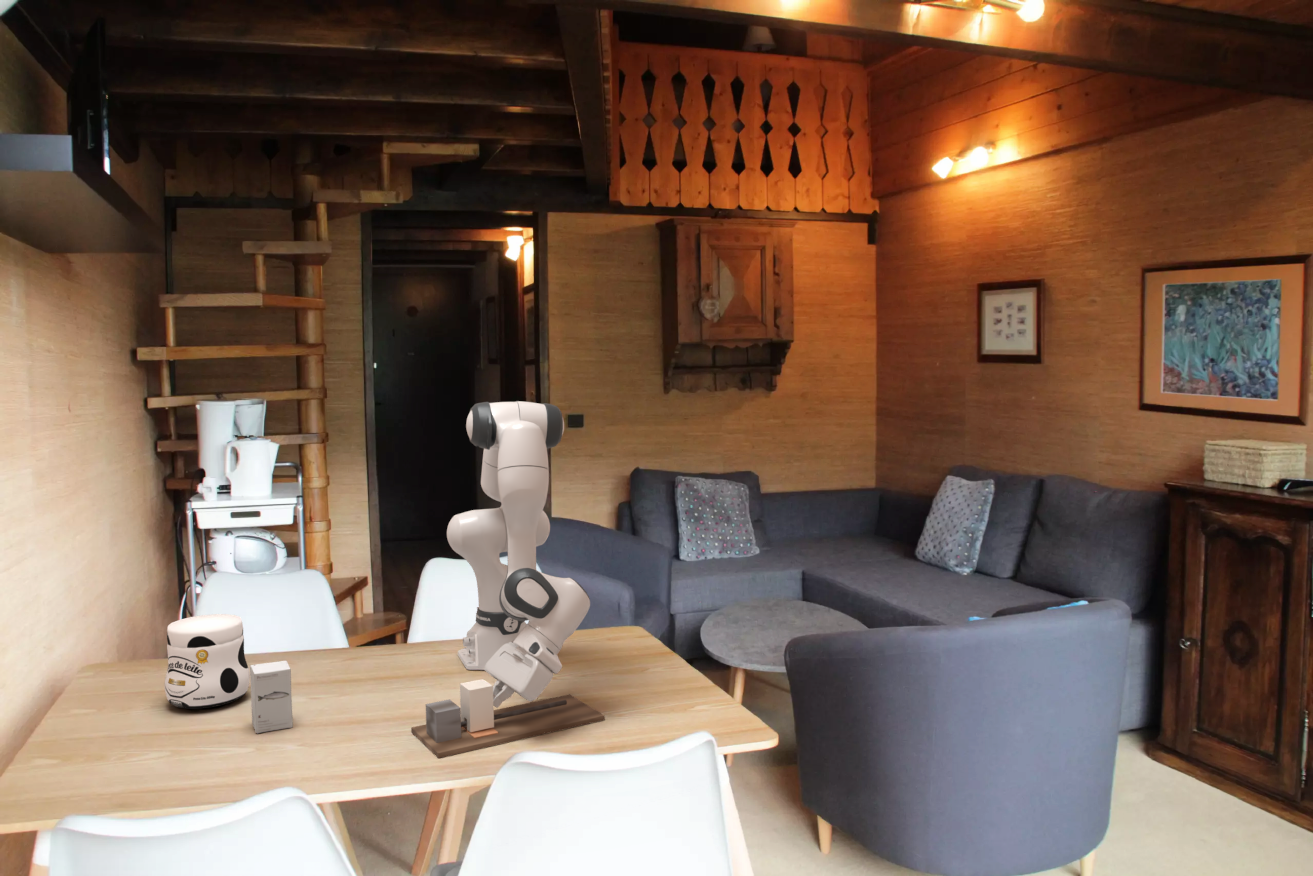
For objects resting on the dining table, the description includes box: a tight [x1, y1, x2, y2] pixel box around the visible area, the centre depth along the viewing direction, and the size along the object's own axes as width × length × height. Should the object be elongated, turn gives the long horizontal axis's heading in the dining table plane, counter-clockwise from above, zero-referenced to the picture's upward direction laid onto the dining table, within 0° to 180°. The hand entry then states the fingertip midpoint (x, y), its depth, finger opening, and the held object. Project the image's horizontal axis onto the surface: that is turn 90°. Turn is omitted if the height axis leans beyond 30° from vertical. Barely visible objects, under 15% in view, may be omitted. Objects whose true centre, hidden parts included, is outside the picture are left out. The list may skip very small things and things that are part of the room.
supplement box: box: [249, 660, 294, 734], centre depth 205 cm, size 7×7×13 cm
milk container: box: [164, 613, 250, 710], centre depth 220 cm, size 17×17×18 cm
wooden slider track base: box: [410, 693, 606, 759], centre depth 203 cm, size 16×36×7 cm, turn 122°
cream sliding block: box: [459, 678, 495, 732], centre depth 199 cm, size 5×5×8 cm
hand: (491, 704), depth 200 cm, fingers closed, pressing on cream sliding block
